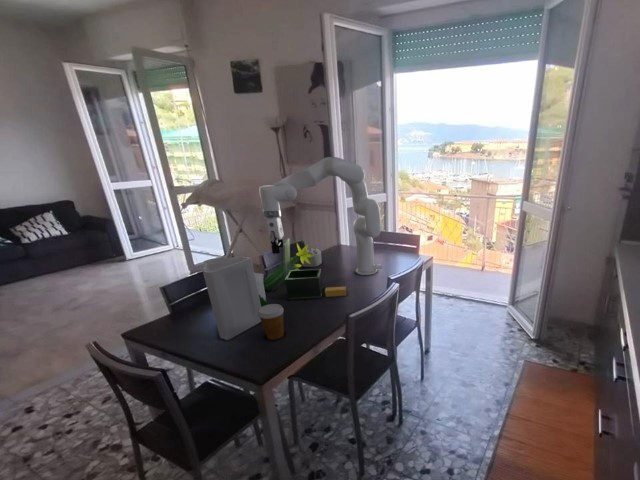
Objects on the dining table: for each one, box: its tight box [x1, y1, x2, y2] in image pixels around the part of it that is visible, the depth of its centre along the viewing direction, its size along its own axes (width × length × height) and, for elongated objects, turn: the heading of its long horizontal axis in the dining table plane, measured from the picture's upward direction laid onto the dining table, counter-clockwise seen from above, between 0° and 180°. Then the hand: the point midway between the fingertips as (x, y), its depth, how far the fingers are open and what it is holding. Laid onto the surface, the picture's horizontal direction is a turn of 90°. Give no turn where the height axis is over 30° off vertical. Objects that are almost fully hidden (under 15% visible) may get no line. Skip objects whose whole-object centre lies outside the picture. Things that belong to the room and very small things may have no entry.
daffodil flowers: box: [263, 242, 313, 292], centre depth 194 cm, size 17×15×35 cm
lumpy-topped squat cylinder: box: [301, 248, 323, 268], centre depth 221 cm, size 10×13×9 cm
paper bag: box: [201, 256, 262, 341], centre depth 144 cm, size 19×15×28 cm
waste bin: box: [284, 268, 324, 301], centre depth 177 cm, size 16×13×11 cm
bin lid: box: [278, 237, 291, 279], centre depth 170 cm, size 16×13×5 cm
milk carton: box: [254, 272, 269, 307], centre depth 156 cm, size 9×9×20 cm
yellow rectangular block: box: [324, 286, 347, 298], centre depth 177 cm, size 10×4×3 cm, turn 96°
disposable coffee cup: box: [258, 303, 285, 341], centre depth 139 cm, size 10×10×12 cm
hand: (278, 250), depth 168 cm, fingers open, 9 cm apart
